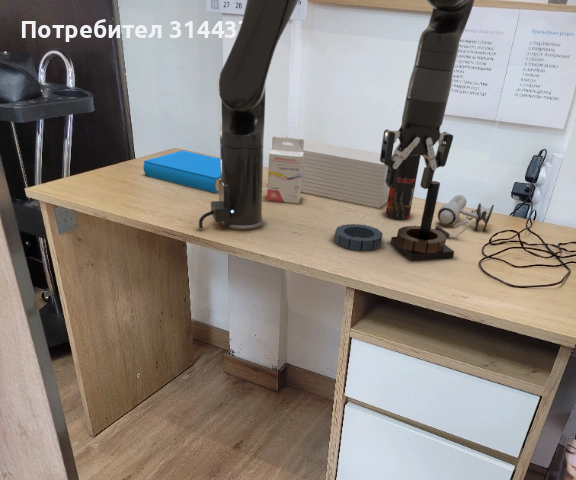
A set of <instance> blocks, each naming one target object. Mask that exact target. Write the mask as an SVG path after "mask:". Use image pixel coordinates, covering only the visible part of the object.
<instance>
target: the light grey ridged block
mask: <svg viewBox="0 0 576 480" xmlns="http://www.w3.org/2000/svg"><path fill="white" fill-rule="evenodd" d="M303 140H304V147H303V152H304V159H303V171H302V185H301V193H306V194H310V195H315V196H320V197H323V198H328V199H329V198H330V199H333V200H338V201H343V202H347V203H348V202H349V203H353V204H358V205H362V206H363V205H364V206H369V207H372V208H377V209H380V208H382V207H383V206H384V205H385V204H387V202H388V196H389V189H390V188H389V187H388V186H387V184H386V176H387V171H388V166H387V165H385V164H384V163H382V162H381V161H380V155H381V152H375V151H368V150H363V149H358V148H351V147H347V146H341V145H334V144H327V143H322V142H318V141H311V140H307V139H303ZM282 144H283V145H290V146H293V145H294V144H293V143H290V142H288V141H287V142H283V143H282Z"/></svg>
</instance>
